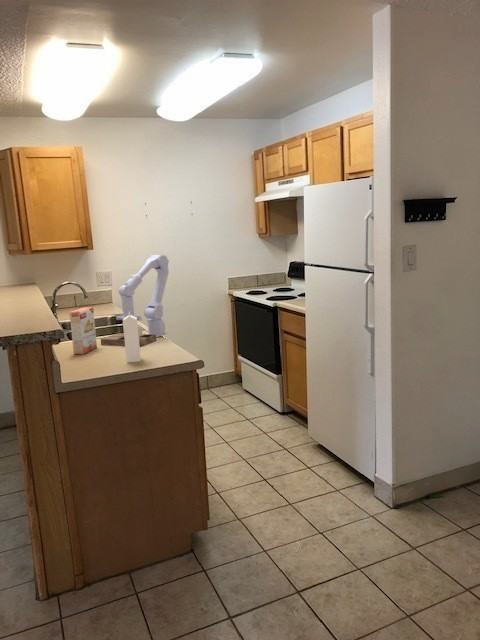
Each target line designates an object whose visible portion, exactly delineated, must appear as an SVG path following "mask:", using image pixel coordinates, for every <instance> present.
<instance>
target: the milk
mask: <svg viewBox="0 0 480 640" xmlns="http://www.w3.org/2000/svg"><path fill="white" fill-rule="evenodd" d="M135 316H136V315H134V316H132V315H130V311H129V315H128V316H127V317H125V318H124V319H123V320H122V327H123V333H124V340H125V346H124V347H125V355H126V356H125V358H126V363H135V362H136V363H137V362H141V358H142V357H141V347H140V346H139V335H138V326H139V324H138V320H137V317H135Z"/></svg>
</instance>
